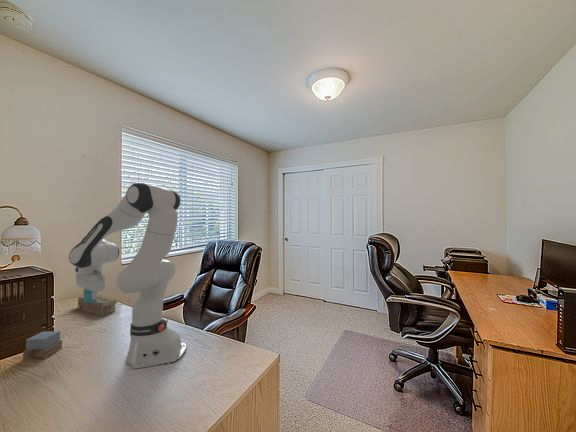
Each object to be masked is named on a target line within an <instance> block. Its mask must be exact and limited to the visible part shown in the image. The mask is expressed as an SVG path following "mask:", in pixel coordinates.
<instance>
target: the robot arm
mask: <svg viewBox="0 0 576 432" xmlns="http://www.w3.org/2000/svg"><path fill="white" fill-rule="evenodd" d="M180 205H181V197H180V195H179V193H178V192H176V191H174V190H172V189H168V188H165V187H162V186H158V185H153V184H147V183H143V182H138V183H137V182H136V183H132V184H131V185H130V186H129V187H128V188H127V190H126V193H125V195H123V197H122V198H121V199H120V201H119V202H118V204H117V206H116V207H115V208H114V209H113V210H112V211H111V212H110V213H108V214H107V215H106V216H104V217H102V218H100V219H99V220H98V221H97V223H95V225H93V226H92V228H91V229H90V230H89V232H88V233H87V234H86V235H85V236H84V237H82V238H81V240H80V241H79V243H78V244H76V245H75V246H74V247H72V249H71V250H70V252H69V254H68V260H69V262H70V263H71V264H72V265H73V266H74V267H75V268H74V272H75V283H76V286H77V287H79V288H82V291H83V293H84V291H86V290H92V295H91V299H96V297H97V295H98V293H99V292H101V291H105V289H106V276H105V275H104V274H103V269H104V265H105V264H108V263H113V262H115V261H117V260H118V258H119V256H120V247H119V246H118V245H117V244H116V243H113V242H109V241H107V240H106V238H107V236H109V235H111V234H114V233H118V232H120V231H124V230H129V229H132V228H135V227H136V226H137V225H138V224H139V223H140V222H141V221H142V220H143V218H144V217H145V216H146V214H148V222H147V224H146V225H147V226H146V227H145V233H144V236H143V238H142V242H141V244H140V248H139V249H138V251H137V253H136V254H135V255H134V257H133V259H132V260H131V261H130V262H129V264H128V265H126V267H125V268H123V269H122V270H121V271H120V272H119V273H118V275H117V279H116V285H117V287H118V289H119V291H120V292H122V293H124V294H136V293H139V295H138V296H137V298H136V299H135V300H134V302H133V303H132V307H131V309H132V310H131V312H132V313H131V315H132V316H131V323H130V328H129V331H130V332H129V336H130V341H129V347H128V348H129V349H128V352H127V355H126V358H125V362H126V363H127V364H129V365H131V368H132V369H141V368H149V367H154V366H160V365H159V364H161V365H165V364H164V363H168V364H170V363H169V362H173V361H176V360H177V359H179V358H180V357H181V356H182V355H183V353H184V352H186V351H187V344H186V343H185V342H182V339H181V336H180V334H179V333H178V332H176V331H174V330H173V329H172V328H170V327H168V322H169V319H166V320H165V319H164V317H163V311H164V309H163V308H164V298H165V295H166V292H167V289H168V286H169V284H170V281H171V280H172V279H173V277H174V276H175V274H176V266H175V265H174V262H172V261H171V260H168V259H165V258H166V257H167V255H169V253H170V252H171V250H172V246H173V243H174V239H175V236H176V231H177V227H178V218H179V214H178V211H177V210H178V209H179V207H180ZM183 346H184V347H183ZM185 350H186V351H185ZM184 354H185V353H184ZM183 356H184V355H183ZM183 356H182V357H183ZM182 357H181V358H182ZM181 358H180V359H181ZM180 359H179V360H180ZM177 361H178V360H177ZM177 361H176V362H177Z"/></svg>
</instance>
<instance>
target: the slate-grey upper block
mask: <svg viewBox="0 0 576 432" xmlns="http://www.w3.org/2000/svg"><path fill="white" fill-rule="evenodd" d="M60 340H61V331H60V330H59V331H56V330H55V331H54V330H53V331H51V330H50V331H47V330H46V331H45V330H44V331H41V332H39V333H37V334H35V335H32V336H31V337H29V338H27V339H26V340H25V342H26V343H25V350H31V349H46V348H47V347H49V346H51V345H53V344H54V343H56V342H58V341H60Z"/></svg>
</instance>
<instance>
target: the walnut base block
mask: <svg viewBox="0 0 576 432" xmlns="http://www.w3.org/2000/svg"><path fill="white" fill-rule="evenodd" d="M62 349H63V340H62V339H60V341H58V342H56V343H54V344H53V345H51V346H49V347H47V348H46V349H31V350H26V349H24V350H23V352H22V353H23V354H22V361H33V360H34V361H37V360H46V359H48V358H49V357H51V356H53V355H54V354H56V353H57V352H59V351H61V350H62Z"/></svg>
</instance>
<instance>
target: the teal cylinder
mask: <svg viewBox="0 0 576 432" xmlns="http://www.w3.org/2000/svg"><path fill="white" fill-rule="evenodd" d="M82 295H83V303H91V302H95V301H97V297H96V299H91V295H92V290H86V291H84V292H83V293H82Z"/></svg>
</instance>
